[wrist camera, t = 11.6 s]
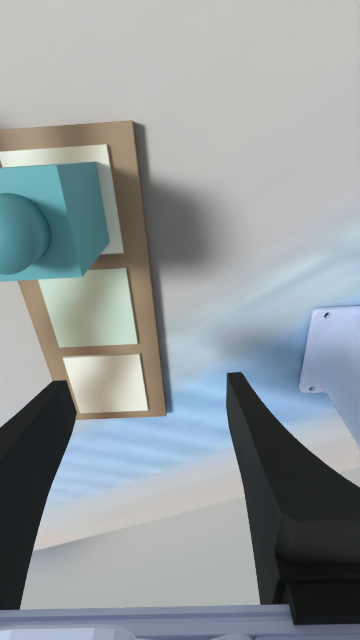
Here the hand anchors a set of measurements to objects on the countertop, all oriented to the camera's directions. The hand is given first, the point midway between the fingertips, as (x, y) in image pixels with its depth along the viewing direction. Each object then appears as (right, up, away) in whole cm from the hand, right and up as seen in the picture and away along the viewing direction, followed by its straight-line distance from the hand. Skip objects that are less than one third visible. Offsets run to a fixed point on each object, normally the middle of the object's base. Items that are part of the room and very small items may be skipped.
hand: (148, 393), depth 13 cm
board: (-5, +4, +8) cm, 11 cm away
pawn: (-5, +10, +4) cm, 12 cm away
